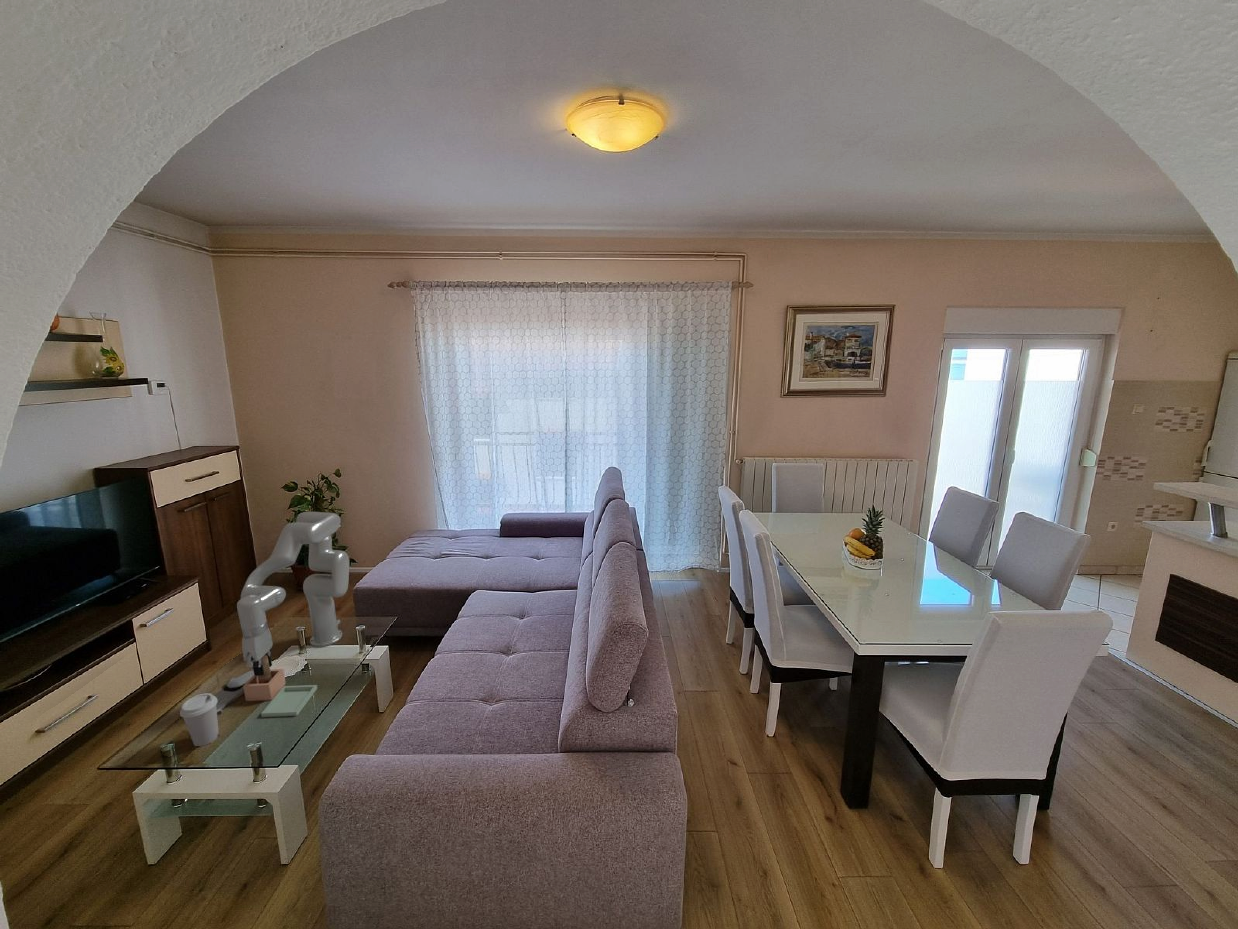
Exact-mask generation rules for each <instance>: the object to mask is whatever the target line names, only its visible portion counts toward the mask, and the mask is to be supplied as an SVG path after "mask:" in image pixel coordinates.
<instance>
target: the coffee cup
mask: <svg viewBox="0 0 1238 929" xmlns="http://www.w3.org/2000/svg"><path fill="white" fill-rule="evenodd" d="M217 702H218V700H217V698H216V697H215V695H213V694H212V693H209V692H207V693H206V692H205V693H201V694H197V695H194V696H193V697H190V698H188V699H186V701H185V702H184V703H183V704H182V705H181V708H180V710H179V716H180V717H182V718H183V720H184V723H185V726H186V728H187V730H188V733H189V735H190V738H191V741H192V743H193V746H195V747H197V746H201V747H204V746H208V745H210V744H212V743H214V741H216V740H217V738H218V737H219V734H220V733H219V722H218V713H217V708H216V704H217ZM209 743H210V744H209ZM207 744H208V745H207Z"/></svg>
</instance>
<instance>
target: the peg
mask: <svg viewBox="0 0 1238 929" xmlns="http://www.w3.org/2000/svg"><path fill="white" fill-rule="evenodd" d="M255 663H257V661H255ZM261 665H263V669H264V675H259V676H258V680H259V684H264V683H269V681H270V680H271V679H272V676H271V671H270V669H271V667H270V666H269V661H268V656H267V655H264V656H263V657H262V658H261Z"/></svg>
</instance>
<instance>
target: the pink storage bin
mask: <svg viewBox="0 0 1238 929" xmlns="http://www.w3.org/2000/svg"><path fill="white" fill-rule="evenodd" d="M270 671H271V676H272V679H271V680H270V681H269V683H264V684H259V680H258V676H255V675H253V676H252V677H251V678H250V679H249V680H248V681H247V682H246V684H245V685H244V686H243V688H244V693H243V694H244V697H245V701H246V702H254V701H255V702H257V701H258V702H259V701H272V700H273V699H274V697H275V696H276V695H277V694H278V693H279V691H280V690H281V689H282V688H283V687H284V686H286V682H287V681H286V678H285V671H284V668H276V669H274V668H273V669H271V668H270Z"/></svg>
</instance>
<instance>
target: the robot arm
mask: <svg viewBox="0 0 1238 929" xmlns="http://www.w3.org/2000/svg"><path fill="white" fill-rule="evenodd" d="M296 516H297V517H296V522H295V521H294V522H290V523H289V522H288V524H285V526H284V527H283V528H282V531H281V533H280V535H279V537H278V540H277V542H276V544H275V546H274V549H273V551H272V552H271V555H270V557H269V558H268V559H267V560H265V561H263V562H262V563H261V564H259V565H258V566H257V567H256V568H255V569H254V570H253V571H252V572H251V573H250V574H249V576H248V577H247V579H246V581H245V583H244V585H243V587H242V590H241V592H240V593H241V594H240V599H239V600H238V602H237V603H236V608H237V614H238V619H239V622H240V629H241V631H242V637H241V639H242V640H241V651H242V657H243V658H242V659H243V661H244V662H245V663H246V665H245V666H246V668H252V670H253V671H254V675H255V676H259V675H264V669H263V665H261V658H262V657H263V656H264V655H267V656H268V661H269V666H270V668H272V666H273V662H272V657H271V656H272V653H271V651H272V647H273V645H274V642H273V637H272V634H271V630H270V629H269V626H268V620H267V615H266V612H267V611H269V610H271V609H273V608H276V607H277V606H279V605H280V604H282V603H283V601H284V600H285V599H286V597H287V596H286V595H287V592H286V590H285V588H283V587H282V586H281V587H280V586H277V585H276V586H274V585H263V584H264V582H265V580H266V579H267V578H268V577H270V575H272V574H273V573H275V572H278V571H281V570H283V569H286V568H288V567H291V566H293V565H294V564H295V563H296V562H297V558H298V556H299V554H300V551H301V549H302V546H303V545H305V544H306V545H307V544H308V545H309V546H308V568H309V569H310V570H311V571H314V572H320V573H313V574H311V575H308V577H306V578H305V580H304V581H303V584H302V585H303V586H302V588H303V593H304V595H305V597H306V599H307V604H308V609H309V616H310V617H309V618H310V625H311V630H312V636H311V637H310V639H309V644H310V645H311V646H312V647H314V648H315V647H316V648H322V647H327V646H331V645H334V644H335V643H337V642H338V641H340V640H341V639H342V638H343V631H342V630H341V629H339V628H338V627H339V624H340V623H341V620H340V619H337V615H336V607H335V606H336V605H335V601H334V600H335V599H334V598H341V597H343V596H345V594H346V593H347V591H348V588H349V579H350V578H349V576H350V557H349V555H348V553H347V552H346V551H344V550H338V549H333V542H332V541H333V539H332V534H334V533H335V532H337V531H338V530H339V528H340V527H341V524H342V523H341V517H340V516H339V515H338V513H333V512H321V511H304V512H301V513H299V514H298V515H296ZM326 573H327V574H326ZM328 573H331V574H328ZM255 661H257V663H255Z"/></svg>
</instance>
